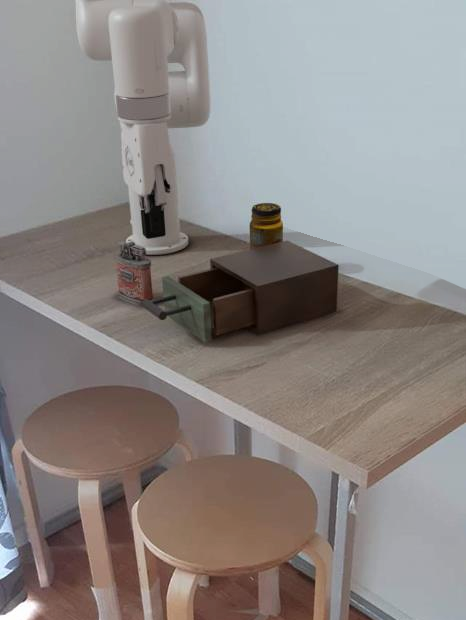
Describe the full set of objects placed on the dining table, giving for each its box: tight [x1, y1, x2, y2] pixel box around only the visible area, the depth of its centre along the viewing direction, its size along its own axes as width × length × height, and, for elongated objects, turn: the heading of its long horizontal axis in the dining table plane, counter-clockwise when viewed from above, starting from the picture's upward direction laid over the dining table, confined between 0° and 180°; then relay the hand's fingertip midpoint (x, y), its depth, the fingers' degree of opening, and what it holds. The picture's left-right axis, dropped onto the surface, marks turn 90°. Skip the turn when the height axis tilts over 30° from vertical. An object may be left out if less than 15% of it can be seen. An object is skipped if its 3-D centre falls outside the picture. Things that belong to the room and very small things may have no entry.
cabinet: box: [209, 240, 340, 335], centre depth 137 cm, size 16×15×8 cm
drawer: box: [141, 267, 256, 343], centre depth 132 cm, size 20×13×6 cm, turn 122°
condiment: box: [249, 202, 284, 250], centre depth 149 cm, size 7×8×12 cm
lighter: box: [113, 241, 155, 307], centre depth 141 cm, size 8×3×10 cm, turn 47°
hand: (154, 235), depth 126 cm, fingers closed
